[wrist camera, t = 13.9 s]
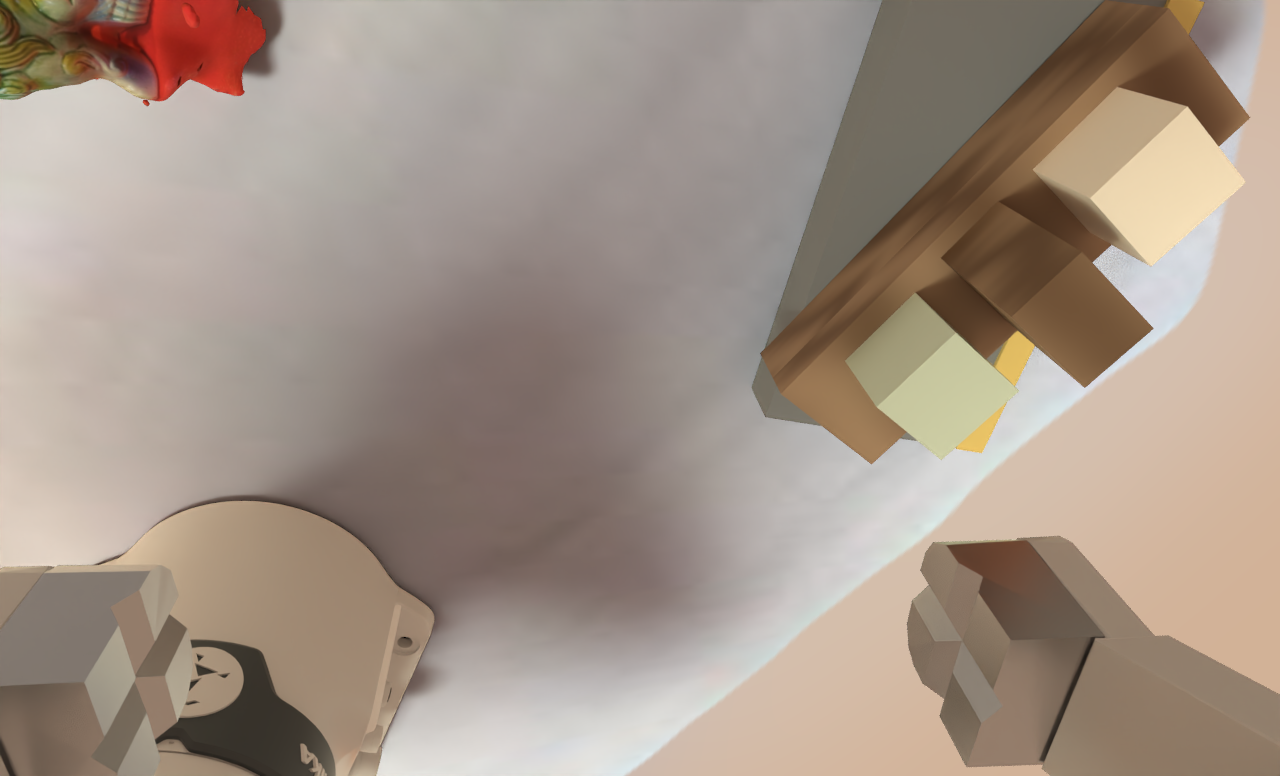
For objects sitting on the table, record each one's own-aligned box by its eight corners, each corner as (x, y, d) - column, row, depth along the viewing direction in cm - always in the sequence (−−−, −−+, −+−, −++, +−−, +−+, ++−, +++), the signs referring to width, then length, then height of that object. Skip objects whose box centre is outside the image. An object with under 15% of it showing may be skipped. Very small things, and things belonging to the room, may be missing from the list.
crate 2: (1089, 232, 35) (1151, 266, 31) (1032, 169, 33) (1090, 198, 30) (1172, 155, 33) (1246, 182, 30) (1117, 86, 32) (1187, 106, 28)
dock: (955, 421, 47) (981, 452, 44) (751, 388, 45) (766, 418, 42) (1154, -4, 37) (1204, 2, 35) (908, -78, 35) (941, -77, 32)
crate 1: (904, 410, 38) (941, 460, 34) (844, 361, 36) (876, 407, 33) (974, 346, 37) (1019, 391, 33) (915, 292, 35) (956, 332, 32)
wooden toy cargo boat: (844, 420, 43) (922, 547, 34) (760, 353, 40) (819, 471, 32) (1182, 99, 36) (1383, 153, 28) (1105, 0, 34) (1297, 24, 25)
